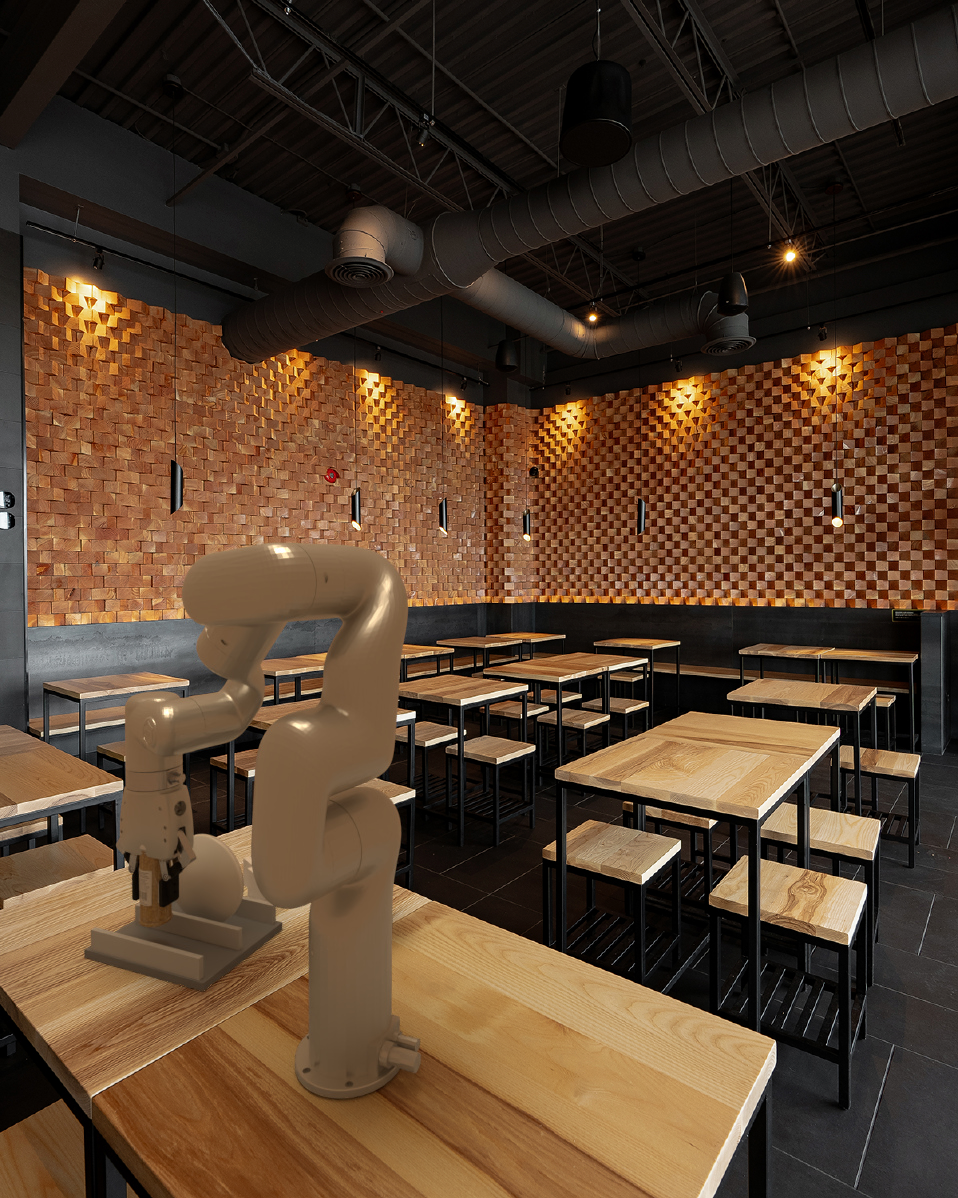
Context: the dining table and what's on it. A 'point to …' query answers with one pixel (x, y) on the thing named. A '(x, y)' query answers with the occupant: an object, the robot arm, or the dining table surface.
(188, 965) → the dish rack
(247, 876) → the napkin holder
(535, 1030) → the dining table surface
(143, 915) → the sprinkles bottle
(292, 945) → the dining table surface
